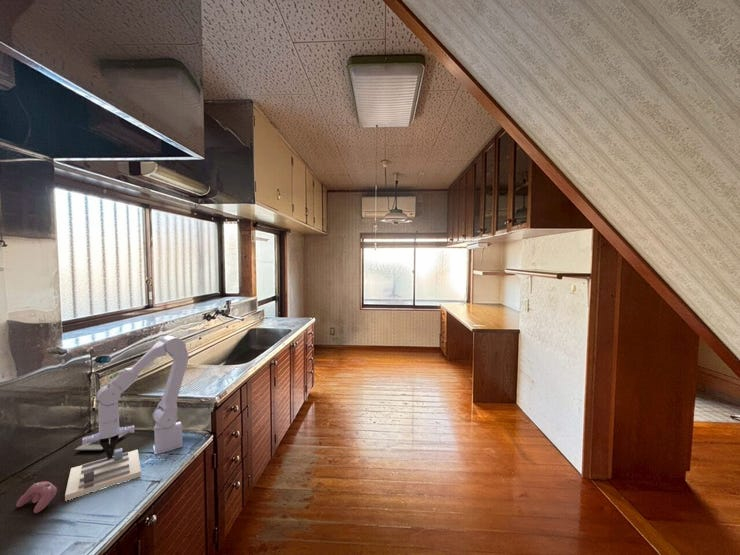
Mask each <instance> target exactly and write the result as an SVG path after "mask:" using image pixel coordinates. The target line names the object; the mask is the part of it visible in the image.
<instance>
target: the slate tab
mask: <svg viewBox="0 0 740 555" xmlns="http://www.w3.org/2000/svg"><path fill="white" fill-rule="evenodd" d="M123 453H124V452H123V448H122V447H120V448H116V449H114V452H113V456H114V461H116V460H119V459H123Z"/></svg>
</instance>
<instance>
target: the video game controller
mask: <svg viewBox="0 0 740 555" xmlns="http://www.w3.org/2000/svg"><path fill="white" fill-rule="evenodd" d="M57 492H58V488H57V486H55V485H54V484H53V483H52V482H51V481H39V482H37V483H35V482H34V483H33V484H32V485H31V486H30V487H29V488H28V489H27V490H26V492H25V493H23V495H22V496H20V498H19V499H18V500H17V501H16V503H15V504H16V508H21V507H23V506H24V505H25V504H27V503H28V502H29V501H31V502H32V503H33V504H35V503H36V505H35V506H34V508H33V513H34V514H38V513H40V512H41V511H43V510H44V509H45V508H47V507H48V506H49V504H50V503H51V501H52V500H53V499H54V498H55V496H56V494H57Z"/></svg>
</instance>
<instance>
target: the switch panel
mask: <svg viewBox="0 0 740 555" xmlns="http://www.w3.org/2000/svg"><path fill="white" fill-rule="evenodd" d="M139 456H140V455H139V450H138V449H134V450H131V451H126V452H123V459H119V460H116V461H114V455H113V456H112V458H111V459H108V458H107V457H105V458H101V459H98V460H94V461H90V462H87V463H83V464H81V465H78V466H74V467H71V468H70V472H69V476H68V480H67V485H66V489H65V494H64V501H66V502H68V501H67V500H69V501H72V500H74V499H73V498H76V497H79V496H82V495H84V494H87V493H89V492H92V491H95V490H98V489H101V488H104V487H108V486H111V485H114V484H117V483H121V482H124V481H128V480H131V479H134V478H137V477H140V476H141V477H142V470H141V463H140V457H139ZM93 468H94V481H91V482H88V483H84V471H86V470H90V469H93ZM141 477H140V478H141ZM137 479H138V478H137ZM134 480H135V479H134ZM131 481H132V480H131ZM128 482H129V481H128ZM82 497H83V496H82ZM79 498H80V497H79ZM71 499H72V500H71ZM76 499H77V498H76Z"/></svg>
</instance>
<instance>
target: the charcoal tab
mask: <svg viewBox="0 0 740 555" xmlns="http://www.w3.org/2000/svg"><path fill="white" fill-rule="evenodd" d="M91 481H94V468H93V469H90V470H86V471H84V483H88V482H91Z"/></svg>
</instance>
